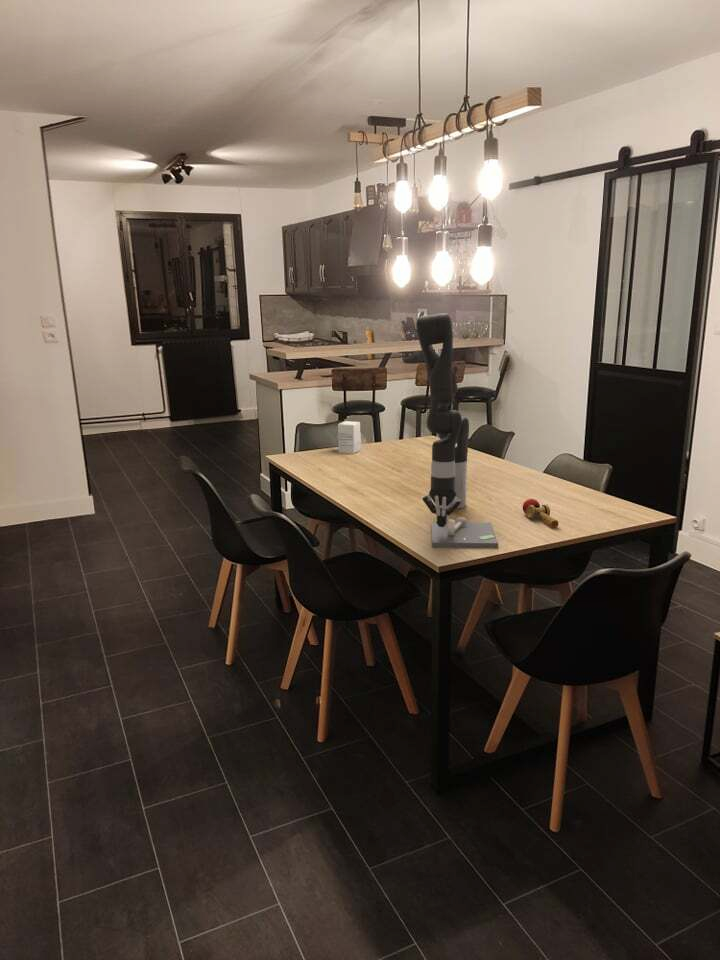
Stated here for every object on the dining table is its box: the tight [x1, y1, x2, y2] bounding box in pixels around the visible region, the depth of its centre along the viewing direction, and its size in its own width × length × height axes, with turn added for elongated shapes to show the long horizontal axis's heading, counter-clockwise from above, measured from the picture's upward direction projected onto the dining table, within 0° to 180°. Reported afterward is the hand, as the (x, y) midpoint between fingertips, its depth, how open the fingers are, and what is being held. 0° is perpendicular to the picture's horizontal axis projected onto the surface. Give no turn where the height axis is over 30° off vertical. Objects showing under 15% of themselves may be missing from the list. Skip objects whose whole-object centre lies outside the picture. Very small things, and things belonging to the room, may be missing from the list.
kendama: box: [522, 498, 559, 529], centre depth 231 cm, size 8×6×18 cm
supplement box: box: [337, 420, 362, 454], centre depth 340 cm, size 9×9×15 cm
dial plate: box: [430, 521, 499, 549], centre depth 217 cm, size 20×20×2 cm
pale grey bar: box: [447, 516, 467, 535], centre depth 218 cm, size 14×3×5 cm, turn 154°
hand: (441, 526), depth 215 cm, fingers closed
